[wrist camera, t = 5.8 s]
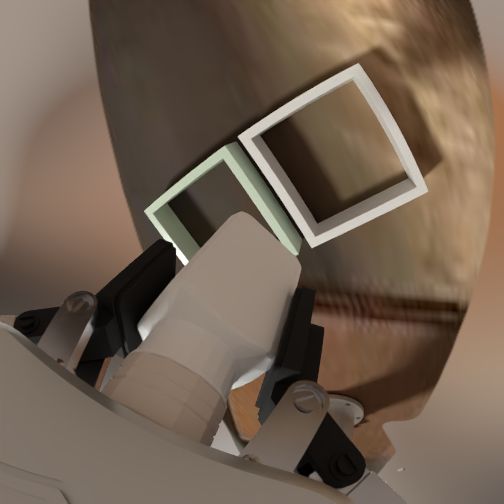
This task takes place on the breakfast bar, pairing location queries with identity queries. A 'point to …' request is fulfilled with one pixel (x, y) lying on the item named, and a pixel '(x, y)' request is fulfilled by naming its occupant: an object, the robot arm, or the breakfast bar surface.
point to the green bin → (252, 184)
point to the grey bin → (360, 211)
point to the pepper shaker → (210, 330)
